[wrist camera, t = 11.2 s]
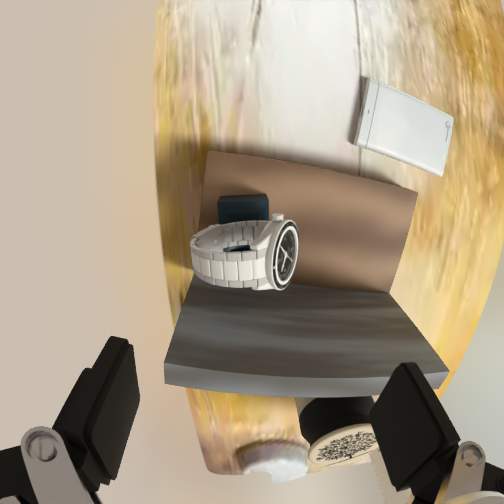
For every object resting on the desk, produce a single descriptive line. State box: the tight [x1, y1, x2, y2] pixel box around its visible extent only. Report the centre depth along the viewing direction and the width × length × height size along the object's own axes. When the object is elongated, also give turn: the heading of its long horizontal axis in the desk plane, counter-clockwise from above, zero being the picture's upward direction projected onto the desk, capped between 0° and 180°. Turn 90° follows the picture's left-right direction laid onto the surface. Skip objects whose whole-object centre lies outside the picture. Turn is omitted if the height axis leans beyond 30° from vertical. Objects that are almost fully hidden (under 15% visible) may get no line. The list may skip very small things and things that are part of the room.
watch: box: [190, 194, 299, 290], centre depth 23 cm, size 6×8×11 cm
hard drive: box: [353, 78, 453, 177], centre depth 29 cm, size 2×8×12 cm
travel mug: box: [295, 396, 378, 466], centre depth 30 cm, size 8×8×18 cm
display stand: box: [164, 151, 450, 397], centre depth 25 cm, size 14×22×18 cm, turn 82°
